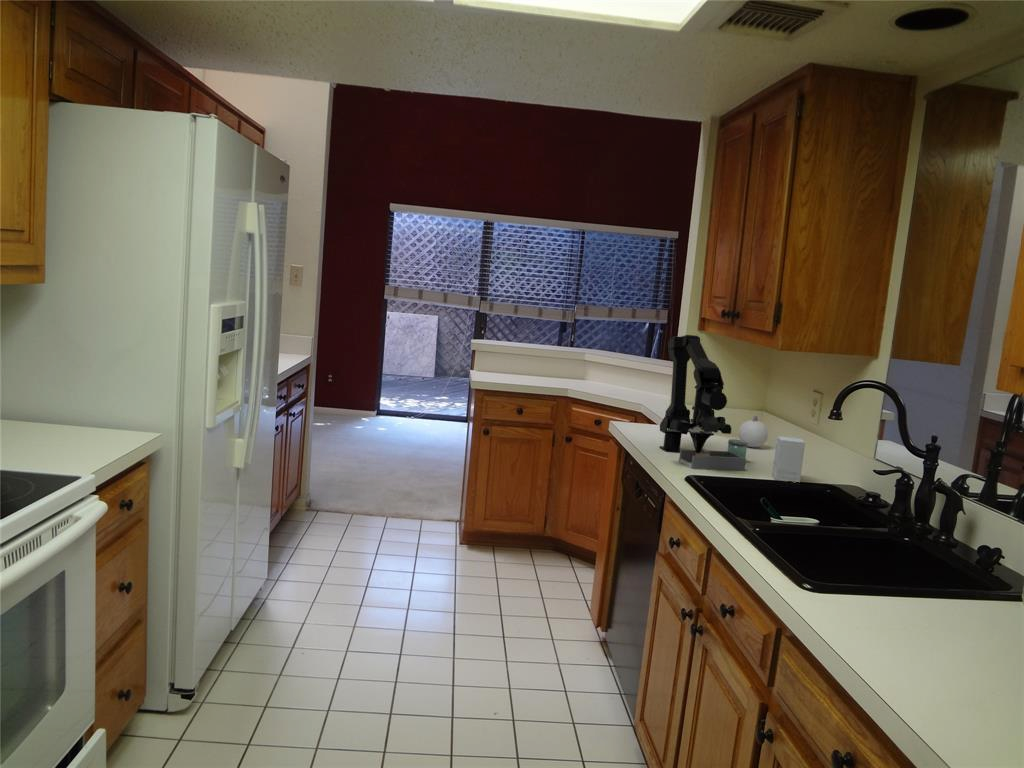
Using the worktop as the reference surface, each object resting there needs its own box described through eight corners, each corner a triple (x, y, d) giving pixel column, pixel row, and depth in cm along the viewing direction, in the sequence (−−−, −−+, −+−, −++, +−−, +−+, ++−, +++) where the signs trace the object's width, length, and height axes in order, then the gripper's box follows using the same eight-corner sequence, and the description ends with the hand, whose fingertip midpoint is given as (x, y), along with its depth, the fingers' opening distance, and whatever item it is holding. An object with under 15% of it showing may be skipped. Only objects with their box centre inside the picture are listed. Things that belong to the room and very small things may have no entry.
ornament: (756, 451, 278) (760, 418, 277) (732, 445, 286) (736, 413, 284) (771, 449, 285) (775, 417, 284) (747, 443, 293) (750, 412, 291)
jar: (722, 459, 258) (725, 438, 257) (739, 459, 259) (741, 439, 258) (731, 463, 252) (734, 442, 251) (748, 464, 253) (751, 443, 252)
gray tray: (678, 461, 248) (680, 449, 247) (729, 463, 252) (730, 451, 251) (692, 468, 238) (694, 456, 238) (744, 470, 242) (746, 458, 242)
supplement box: (800, 483, 231) (805, 442, 230) (774, 480, 233) (780, 439, 231) (796, 477, 238) (801, 438, 237) (771, 474, 240) (776, 435, 238)
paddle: (693, 462, 248) (695, 447, 247) (698, 462, 248) (700, 447, 247) (704, 467, 240) (706, 452, 240) (708, 467, 241) (710, 452, 240)
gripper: (687, 407, 232) (681, 457, 233) (743, 411, 236) (736, 460, 237) (672, 401, 242) (666, 449, 244) (725, 405, 246) (719, 452, 248)
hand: (697, 453), depth 243 cm, fingers closed
